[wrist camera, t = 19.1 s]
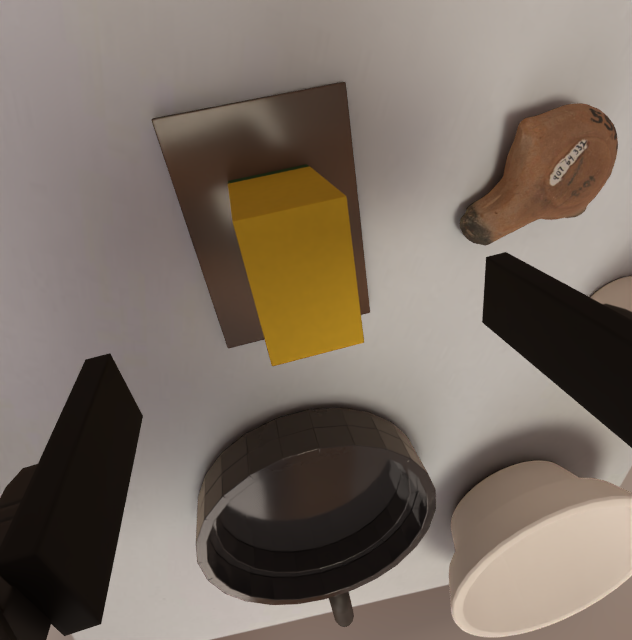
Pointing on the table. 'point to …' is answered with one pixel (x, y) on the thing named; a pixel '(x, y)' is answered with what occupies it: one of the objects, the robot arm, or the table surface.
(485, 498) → the bowl
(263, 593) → the pan
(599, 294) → the candle holder
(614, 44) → the table surface
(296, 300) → the sponge
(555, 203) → the oil lamp
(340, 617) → the pan handle
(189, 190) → the brown flat slab
